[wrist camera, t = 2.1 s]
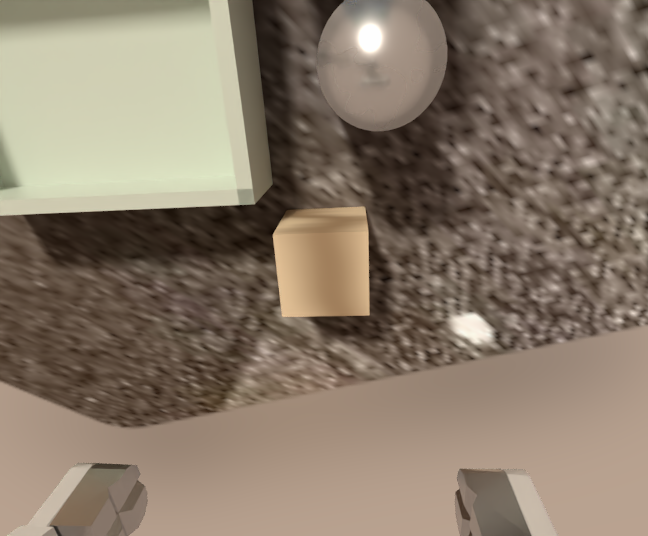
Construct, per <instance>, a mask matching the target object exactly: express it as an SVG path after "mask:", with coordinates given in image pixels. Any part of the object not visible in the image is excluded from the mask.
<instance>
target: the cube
mask: <svg viewBox="0 0 648 536" xmlns="http://www.w3.org/2000/svg"><path fill="white" fill-rule="evenodd" d="M273 242H274V250H275V259H276V267H277V276H278V284H279V293H280V301H281V310H282V317H309V316H365V315H369V239H368V224H367V217H366V209H365V207H345V208H321V209H297V210H287V211H286V212H285V214H284V216H283V218H282V219H281V221H280V223H279V225H278V226H277V228H276V230H275V231H274V233H273Z"/></svg>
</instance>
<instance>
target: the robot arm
mask: <svg viewBox="0 0 648 536" xmlns="http://www.w3.org/2000/svg"><path fill="white" fill-rule="evenodd" d="M139 476H140V472H139V469H138V467H137V465H122V464H99V463H77V464H76V465H75V466H73V467H72V468H71V469H70V470H69V471H68V472H67V474H66V475H65V477H64V478H63V479H62V480H61V482H60V483H59V484H58V485H57V487H56V488H55V489H54V491H53V492H52V493H51V495H50V496H49V497H48V499H47V500H46V501H45V502H44V504H43V505H42V506H41V508H40V509H39V510H38V512H37V513H36V514H35V515H34V517H33V518H32V519H31V521H30V522H29V523H28V525H27V526H20V527H18V528H17V529H16V530H14V531H13V532H11V533H10V534H8V535H7V536H129V535H130V534H131V533H132V532H133V531H135V530H136V529H137V528H138V527H139V525H140V523H141V521H142V519H143V517H144V514H145V510H146V506H147V491H146V488H145V486H144V485H143V484H141V483H140V482H139V481H138V478H139ZM457 481H458V485H459V490H457V491H456V493H455V511H456V519H457V524H458V529H459V533H460V536H558V534H557V532H556V530H555V528H554V526H553V523H552V521H551V519H550V517H549V515H548V513H547V511H546V509H545V507H544V505H543V503H542V500H541V498H540V496H539V494H538V492H537V490H536V488H535V486H534V484H533V482H532V479H531V478H530V475H529V474H528V473H527V472H526V470H517V469H514V470H513V469H510V470H509V469H507V470H506V469H503V470H501V469H459V471H458V475H457Z"/></svg>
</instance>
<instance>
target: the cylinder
mask: <svg viewBox="0 0 648 536" xmlns="http://www.w3.org/2000/svg"><path fill="white" fill-rule="evenodd" d="M446 65H447V41H446V36H445V32H444V28H443V26H442V23H441V21H440V19H439V17H438V15H437V13H436V12H435V10H434V9H433V8H432V7H431V5H430V4H429V3H428V2H427V1H426V0H345V1H344V2H343V3H341V4H340V5H339V6H338V8H337V9H336V10H335V11H334V12H333V14H332V15H331V17H330V18H329V20H328V21H327V23H326V25H325V27H324V29H323V32H322V35H321V38H320V41H319V46H318V51H317V74H318V79H319V84H320V87H321V90H322V92H323V95H324V97H325V99H326V101H327V102H328V104H329V105H330V107H331V108H332V109H333V110H334V112H335V113H336V114H337V115H338V116H339V117H341V118H342V119H343V120H344V121H346V122H347V123H349V124H351V125H353V126H355V127H357V128H360V129H364V130H369V131H387V130H392V129H396V128H399V127H401V126H404V125H406V124H407V123H409V122H411V121H413V120H414V119H415V118H417V117H418V116H419V115H420V114H421V113H422V112H423V111H424V110H426V108H427V107H428V106H429V105H430V104H431V102H432V101H433V99H434V98H435V96H436V95H437V93H438V91H439V89H440V86H441V84H442V81H443V78H444V75H445V71H446Z"/></svg>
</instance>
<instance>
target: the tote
mask: <svg viewBox="0 0 648 536" xmlns="http://www.w3.org/2000/svg"><path fill="white" fill-rule="evenodd" d="M272 185H273V180H272V171H271V162H270V153H269V145H268V136H267V127H266V118H265V109H264V100H263V91H262V82H261V73H260V65H259V56H258V47H257V38H256V29H255V20H254V11H253V2H252V0H0V215H23V214H45V213H68V212H91V211H114V210H137V209H159V208H182V207H205V206H228V205H251V204H256V202H257V201H258V200H259V199H260V198H261V197H262V196H263V195H264V194H265V192H266V191H267V190H268V189H269V188H270V187H271V186H272Z"/></svg>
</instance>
